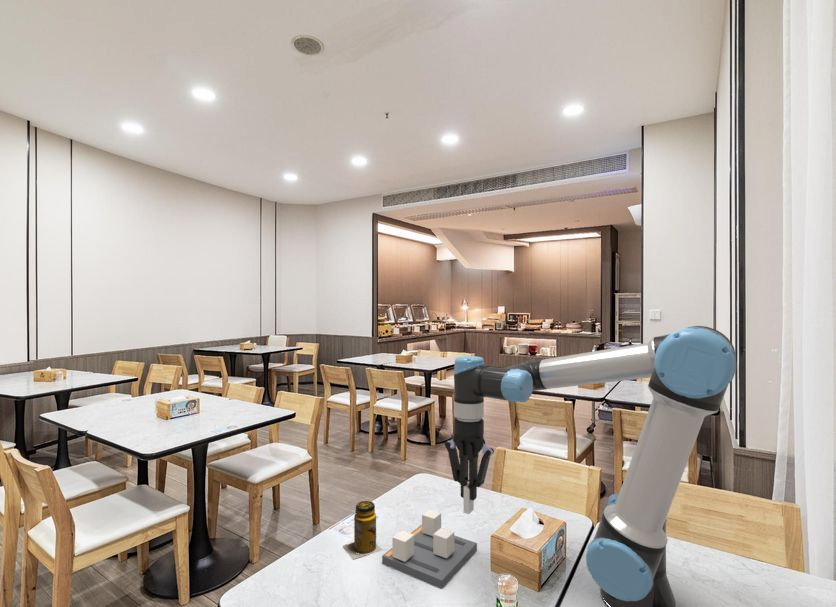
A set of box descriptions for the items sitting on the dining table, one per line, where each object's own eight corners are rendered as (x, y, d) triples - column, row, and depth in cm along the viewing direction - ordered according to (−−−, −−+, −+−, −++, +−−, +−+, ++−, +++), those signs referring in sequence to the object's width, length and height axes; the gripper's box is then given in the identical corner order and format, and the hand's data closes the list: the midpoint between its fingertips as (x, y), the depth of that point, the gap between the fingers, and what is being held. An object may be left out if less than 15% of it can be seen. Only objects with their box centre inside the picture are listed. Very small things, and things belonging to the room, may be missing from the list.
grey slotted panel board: (476, 550, 116) (476, 542, 116) (441, 588, 100) (441, 580, 100) (421, 531, 126) (421, 524, 126) (382, 563, 110) (382, 555, 110)
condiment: (381, 549, 117) (381, 506, 117) (353, 560, 112) (353, 514, 112) (369, 537, 123) (369, 496, 123) (342, 547, 118) (342, 503, 118)
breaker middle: (454, 550, 112) (454, 531, 112) (446, 558, 108) (446, 538, 108) (441, 546, 114) (441, 527, 114) (433, 553, 110) (433, 534, 111)
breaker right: (441, 530, 122) (441, 512, 122) (434, 536, 119) (434, 518, 119) (429, 526, 124) (429, 509, 124) (422, 532, 121) (422, 514, 121)
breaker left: (414, 554, 110) (414, 534, 110) (405, 561, 107) (405, 541, 107) (401, 549, 112) (401, 530, 112) (392, 556, 109) (392, 537, 109)
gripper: (498, 418, 107) (498, 512, 107) (453, 411, 114) (453, 499, 114) (486, 425, 101) (486, 525, 100) (439, 417, 108) (438, 510, 108)
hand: (468, 511), depth 107 cm, fingers closed
